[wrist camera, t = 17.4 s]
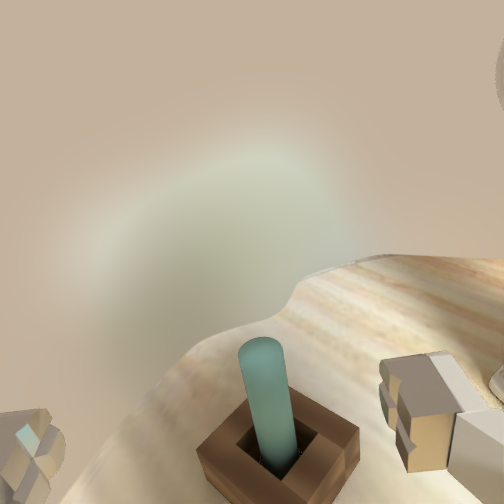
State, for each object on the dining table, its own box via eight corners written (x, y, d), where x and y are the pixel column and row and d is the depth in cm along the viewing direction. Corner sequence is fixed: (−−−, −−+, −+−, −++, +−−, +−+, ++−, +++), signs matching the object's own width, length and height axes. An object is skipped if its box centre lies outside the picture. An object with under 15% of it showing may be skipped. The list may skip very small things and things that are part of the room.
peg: (280, 446, 40) (258, 331, 32) (308, 466, 37) (291, 347, 30) (258, 473, 38) (229, 356, 30) (285, 496, 35) (262, 376, 28)
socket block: (275, 405, 44) (270, 375, 42) (360, 459, 37) (359, 427, 35) (207, 479, 38) (195, 449, 35) (293, 563, 31) (286, 532, 28)
